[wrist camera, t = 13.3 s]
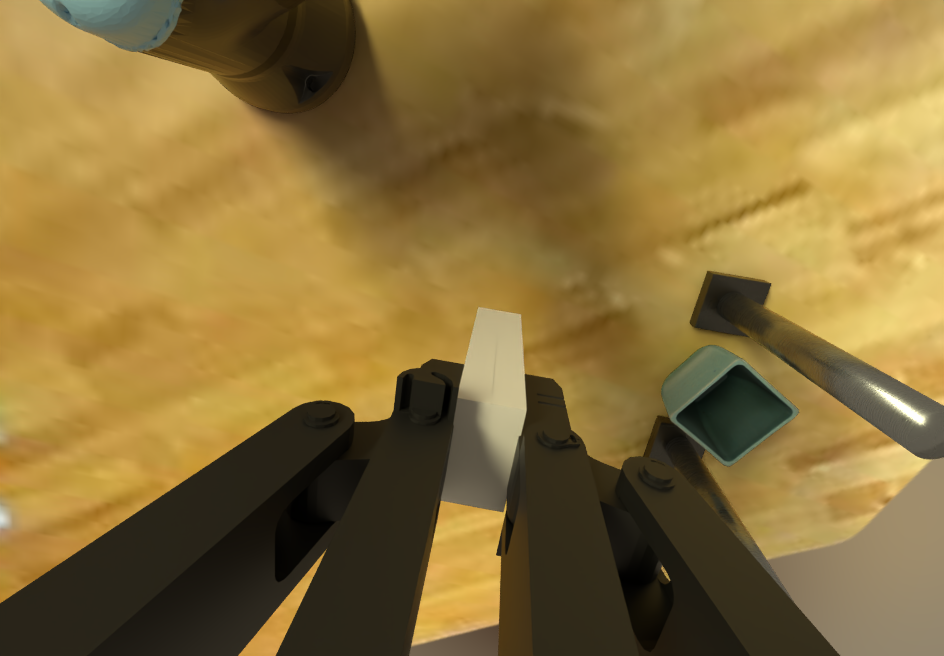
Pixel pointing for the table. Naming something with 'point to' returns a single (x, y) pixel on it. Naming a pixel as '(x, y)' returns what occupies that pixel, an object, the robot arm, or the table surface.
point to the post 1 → (700, 479)
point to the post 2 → (822, 363)
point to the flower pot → (724, 403)
